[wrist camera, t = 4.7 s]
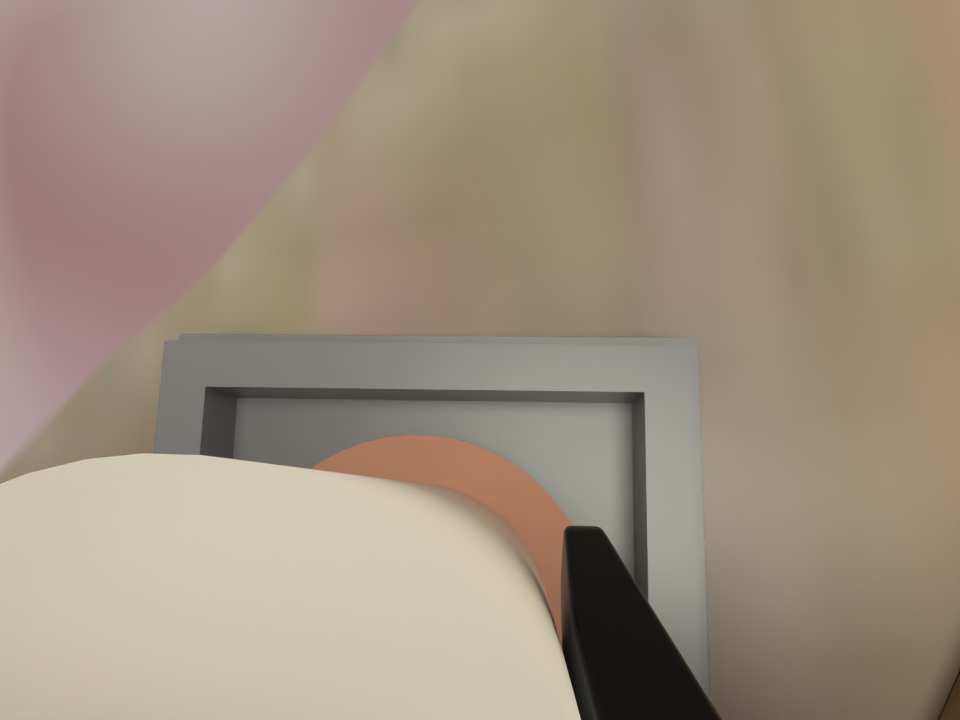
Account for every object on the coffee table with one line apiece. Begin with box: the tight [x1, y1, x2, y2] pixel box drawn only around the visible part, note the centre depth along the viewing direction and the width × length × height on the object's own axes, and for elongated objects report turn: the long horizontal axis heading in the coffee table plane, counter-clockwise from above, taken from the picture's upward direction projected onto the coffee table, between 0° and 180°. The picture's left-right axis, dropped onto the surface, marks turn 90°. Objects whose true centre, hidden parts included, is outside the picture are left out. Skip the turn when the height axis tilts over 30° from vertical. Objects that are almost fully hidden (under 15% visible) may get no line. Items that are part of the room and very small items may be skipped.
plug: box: [0, 435, 581, 720], centre depth 7 cm, size 6×6×12 cm
